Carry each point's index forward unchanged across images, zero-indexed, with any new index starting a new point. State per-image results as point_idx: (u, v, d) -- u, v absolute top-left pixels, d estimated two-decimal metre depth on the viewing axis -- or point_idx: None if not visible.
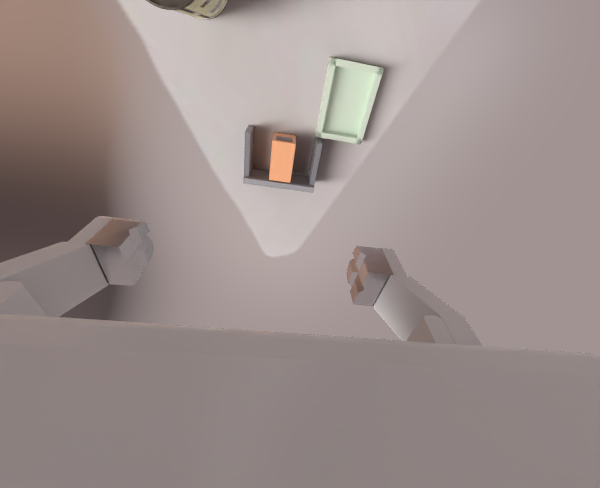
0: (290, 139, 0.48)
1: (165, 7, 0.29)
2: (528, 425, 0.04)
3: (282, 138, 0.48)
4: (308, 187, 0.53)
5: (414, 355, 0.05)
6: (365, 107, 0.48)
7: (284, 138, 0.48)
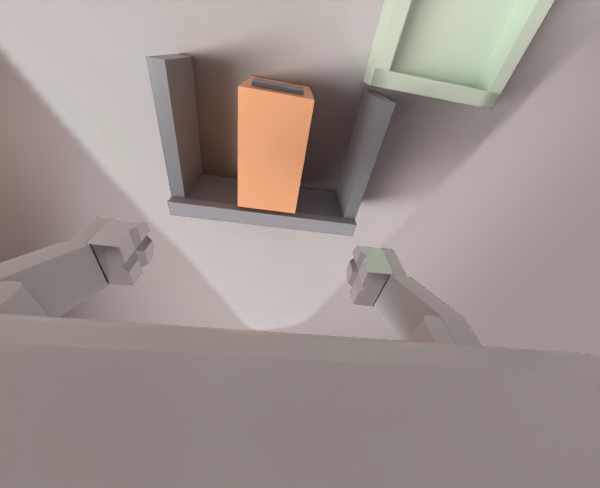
0: (296, 88, 0.16)
1: None
2: (529, 425, 0.04)
3: (272, 84, 0.15)
4: (341, 224, 0.21)
5: (414, 355, 0.05)
6: None
7: (278, 84, 0.16)
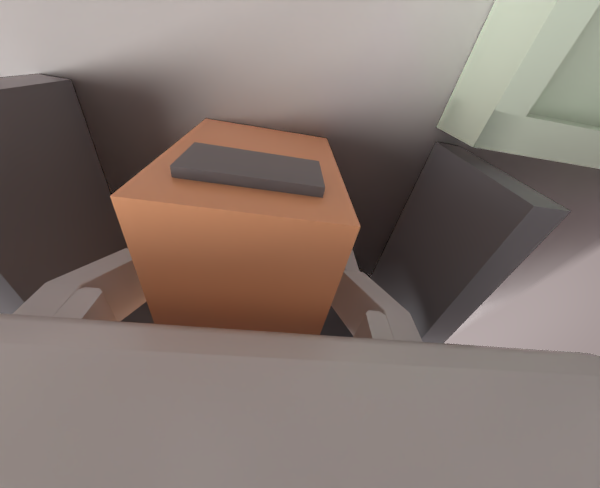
0: (303, 176, 0.06)
1: None
2: (529, 425, 0.04)
3: (235, 166, 0.05)
4: None
5: (414, 355, 0.05)
6: None
7: (253, 166, 0.06)
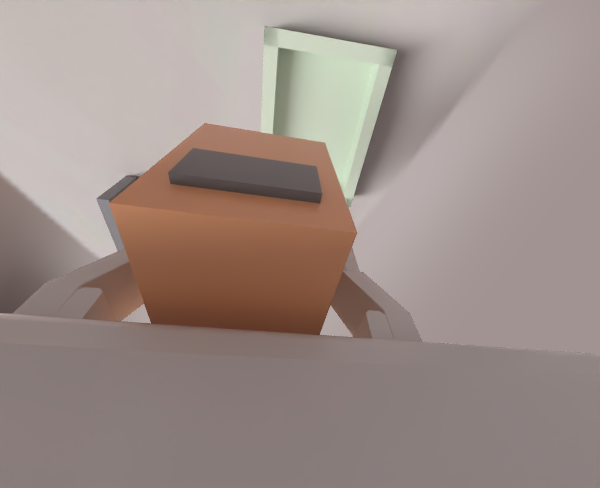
0: (301, 181, 0.06)
1: None
2: (529, 425, 0.04)
3: (233, 172, 0.06)
4: None
5: (414, 355, 0.05)
6: (356, 138, 0.22)
7: (251, 172, 0.06)
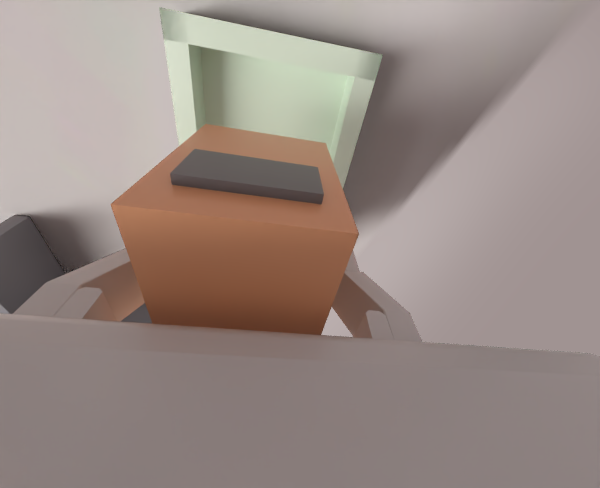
0: (302, 182, 0.06)
1: None
2: (528, 425, 0.04)
3: (234, 173, 0.06)
4: None
5: (414, 355, 0.05)
6: None
7: (253, 172, 0.06)
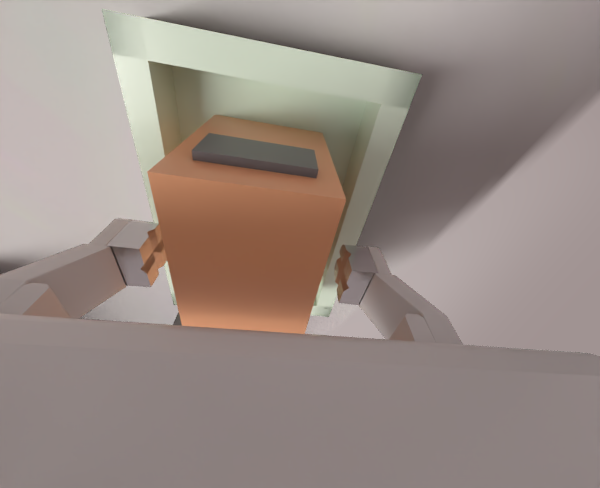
0: (300, 160, 0.07)
1: None
2: (529, 425, 0.04)
3: (244, 152, 0.07)
4: None
5: (414, 355, 0.05)
6: None
7: (259, 152, 0.07)
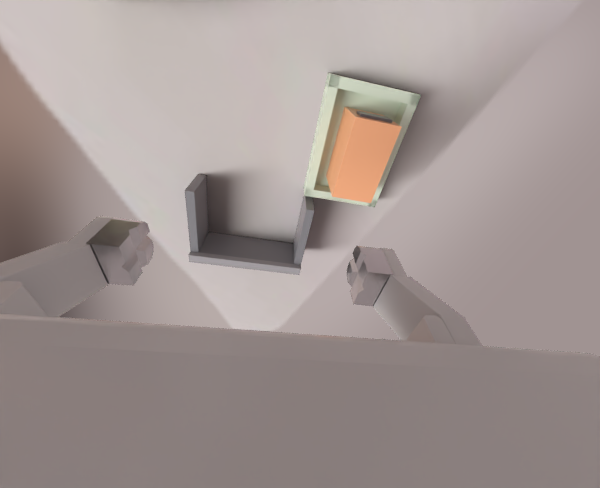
0: (386, 118, 0.24)
1: None
2: (528, 425, 0.04)
3: (371, 115, 0.24)
4: (292, 268, 0.34)
5: (414, 355, 0.05)
6: None
7: (375, 115, 0.24)
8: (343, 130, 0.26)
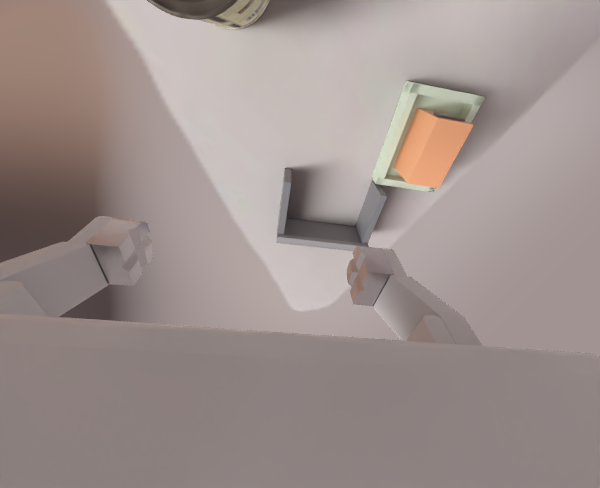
0: (459, 117, 0.29)
1: (184, 15, 0.17)
2: (529, 426, 0.04)
3: (447, 115, 0.29)
4: None
5: (414, 355, 0.05)
6: None
7: (450, 116, 0.29)
8: (418, 128, 0.32)
